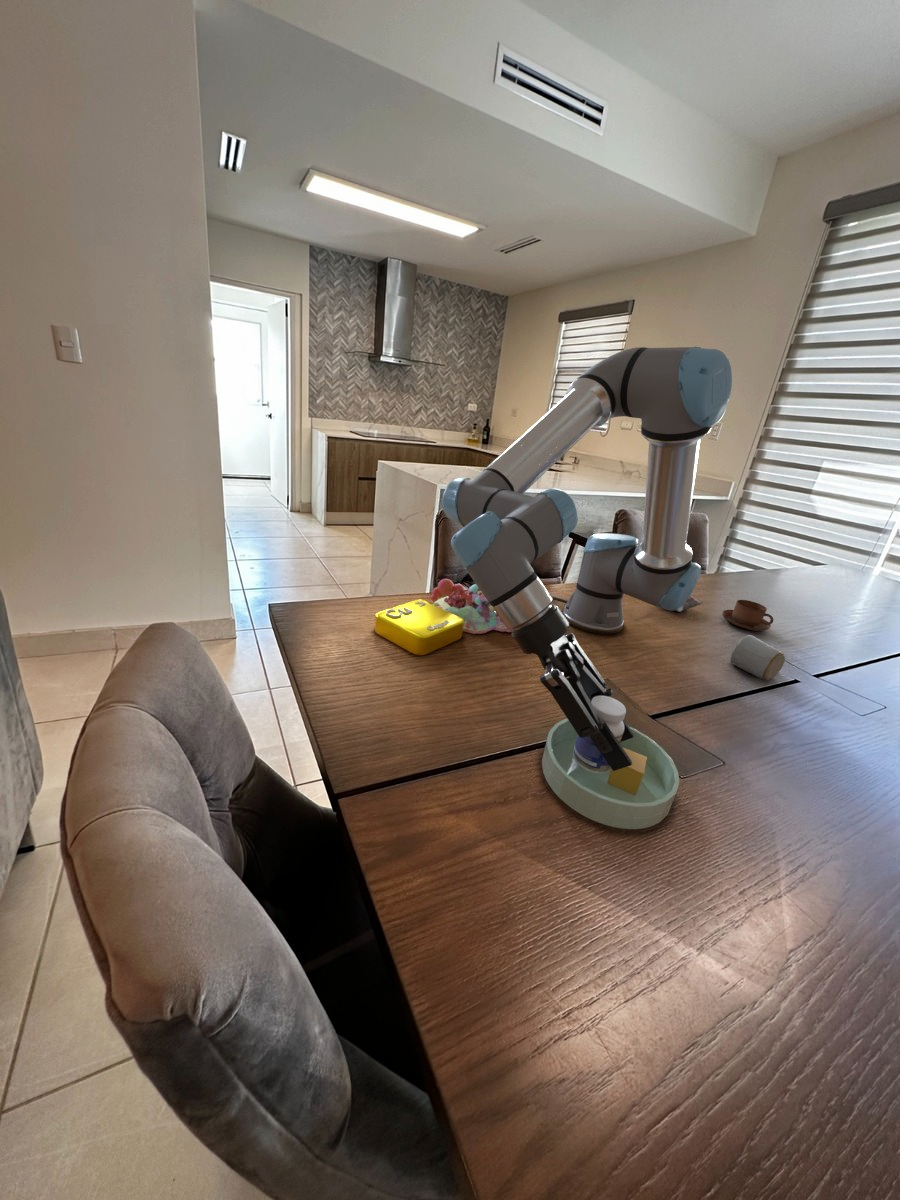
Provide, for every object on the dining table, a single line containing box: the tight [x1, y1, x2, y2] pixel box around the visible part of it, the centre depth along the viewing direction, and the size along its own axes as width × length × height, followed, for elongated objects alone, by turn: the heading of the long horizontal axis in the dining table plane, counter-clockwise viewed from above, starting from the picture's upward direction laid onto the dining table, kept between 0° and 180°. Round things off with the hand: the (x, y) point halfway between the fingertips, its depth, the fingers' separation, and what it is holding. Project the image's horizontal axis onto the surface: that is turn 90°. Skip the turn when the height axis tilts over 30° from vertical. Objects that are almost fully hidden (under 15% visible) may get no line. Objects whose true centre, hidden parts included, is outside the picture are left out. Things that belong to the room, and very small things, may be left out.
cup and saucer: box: [722, 599, 774, 632], centre depth 131 cm, size 12×12×6 cm
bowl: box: [541, 717, 680, 830], centre depth 68 cm, size 18×18×4 cm
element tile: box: [374, 599, 464, 656], centre depth 104 cm, size 15×15×5 cm
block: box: [607, 747, 647, 795], centre depth 68 cm, size 4×4×4 cm
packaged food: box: [673, 594, 703, 613], centre depth 138 cm, size 9×12×5 cm
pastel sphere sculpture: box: [430, 578, 513, 635], centre depth 117 cm, size 25×24×9 cm
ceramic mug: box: [730, 634, 786, 681], centre depth 105 cm, size 11×8×8 cm
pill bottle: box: [573, 696, 627, 774], centre depth 67 cm, size 6×6×10 cm
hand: (623, 751), depth 66 cm, fingers closed on pill bottle, 6 cm apart
